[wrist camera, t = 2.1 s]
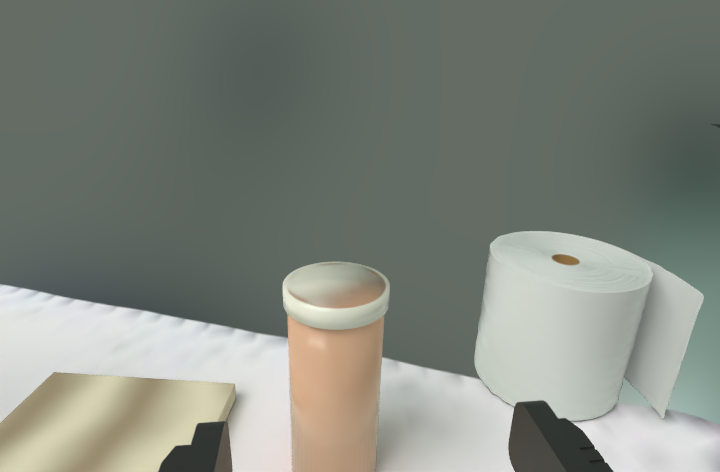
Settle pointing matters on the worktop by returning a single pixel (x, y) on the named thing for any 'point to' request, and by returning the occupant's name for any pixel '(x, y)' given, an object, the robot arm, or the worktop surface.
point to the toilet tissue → (580, 324)
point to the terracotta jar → (335, 364)
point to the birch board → (107, 422)
